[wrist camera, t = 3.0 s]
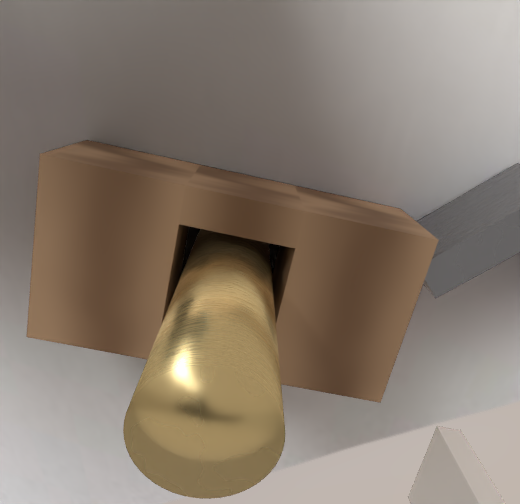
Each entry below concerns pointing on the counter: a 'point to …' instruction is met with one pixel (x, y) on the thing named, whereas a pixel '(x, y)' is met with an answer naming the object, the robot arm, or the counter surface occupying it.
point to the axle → (212, 376)
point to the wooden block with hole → (232, 223)
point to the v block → (474, 232)
